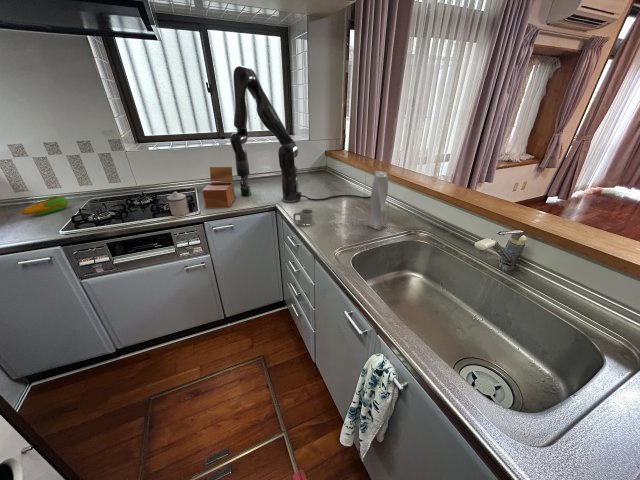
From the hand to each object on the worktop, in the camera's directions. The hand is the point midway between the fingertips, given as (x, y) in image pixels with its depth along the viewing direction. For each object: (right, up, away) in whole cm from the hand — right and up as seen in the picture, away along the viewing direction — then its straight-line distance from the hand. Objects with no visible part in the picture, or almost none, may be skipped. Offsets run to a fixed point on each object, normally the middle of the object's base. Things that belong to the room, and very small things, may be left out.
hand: (246, 193), depth 170 cm
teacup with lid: (-29, -15, -25) cm, 41 cm away
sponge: (0, 0, 0) cm, 0 cm away
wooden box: (-11, -7, -12) cm, 18 cm away
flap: (-12, +10, -10) cm, 19 cm away
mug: (+39, -22, -36) cm, 58 cm away
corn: (-98, -15, -28) cm, 103 cm away
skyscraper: (+75, -23, -38) cm, 87 cm away
